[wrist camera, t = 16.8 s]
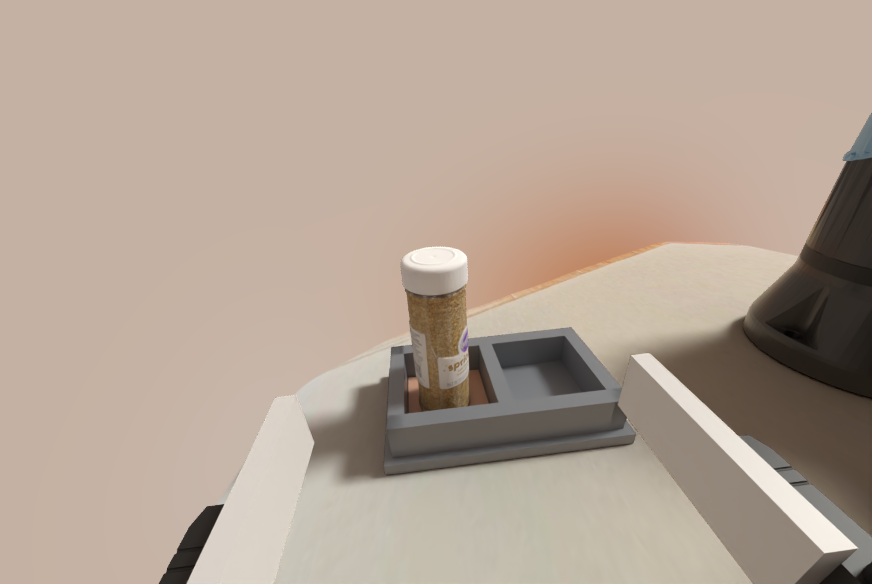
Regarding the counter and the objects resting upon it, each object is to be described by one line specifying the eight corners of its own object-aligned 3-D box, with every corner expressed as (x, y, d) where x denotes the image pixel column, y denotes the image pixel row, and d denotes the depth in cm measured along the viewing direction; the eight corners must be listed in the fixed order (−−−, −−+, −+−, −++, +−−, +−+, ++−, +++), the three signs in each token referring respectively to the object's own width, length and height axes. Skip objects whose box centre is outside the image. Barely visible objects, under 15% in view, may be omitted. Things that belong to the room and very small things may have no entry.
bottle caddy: (569, 355, 34) (574, 323, 32) (633, 443, 24) (645, 405, 22) (390, 375, 33) (385, 344, 31) (385, 475, 23) (377, 438, 22)
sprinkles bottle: (470, 423, 26) (467, 268, 19) (414, 421, 26) (393, 270, 20) (470, 382, 30) (467, 243, 23) (421, 381, 30) (405, 245, 24)
